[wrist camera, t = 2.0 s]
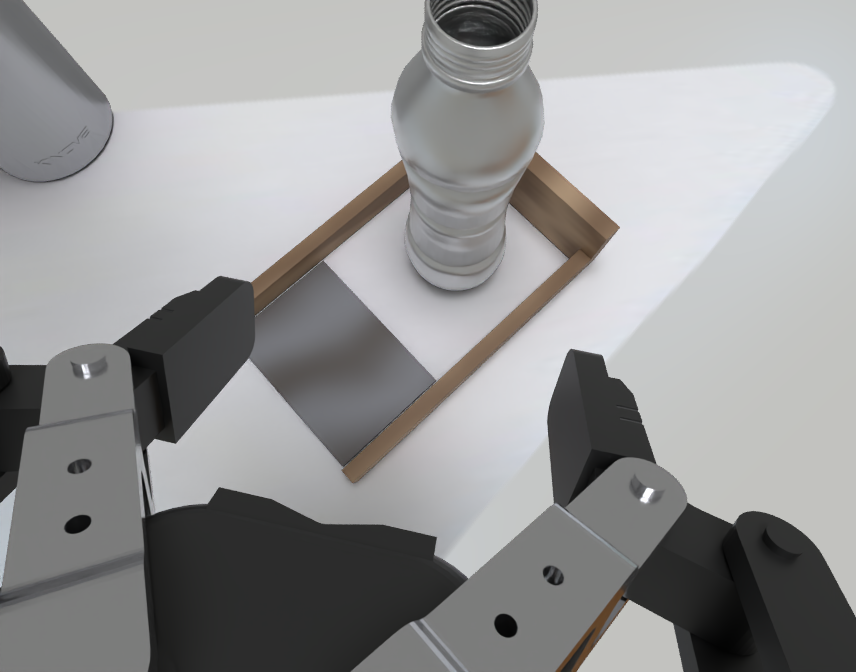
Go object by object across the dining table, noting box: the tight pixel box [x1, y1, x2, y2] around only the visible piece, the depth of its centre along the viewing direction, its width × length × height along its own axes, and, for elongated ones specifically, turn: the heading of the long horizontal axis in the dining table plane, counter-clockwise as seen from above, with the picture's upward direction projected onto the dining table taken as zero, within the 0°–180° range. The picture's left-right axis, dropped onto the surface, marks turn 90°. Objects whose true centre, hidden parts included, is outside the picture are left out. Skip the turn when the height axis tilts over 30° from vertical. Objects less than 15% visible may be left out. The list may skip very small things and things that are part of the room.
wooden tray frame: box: [249, 152, 620, 483], centre depth 32 cm, size 14×22×5 cm, turn 133°
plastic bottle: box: [391, 0, 544, 291], centre depth 26 cm, size 6×7×20 cm
